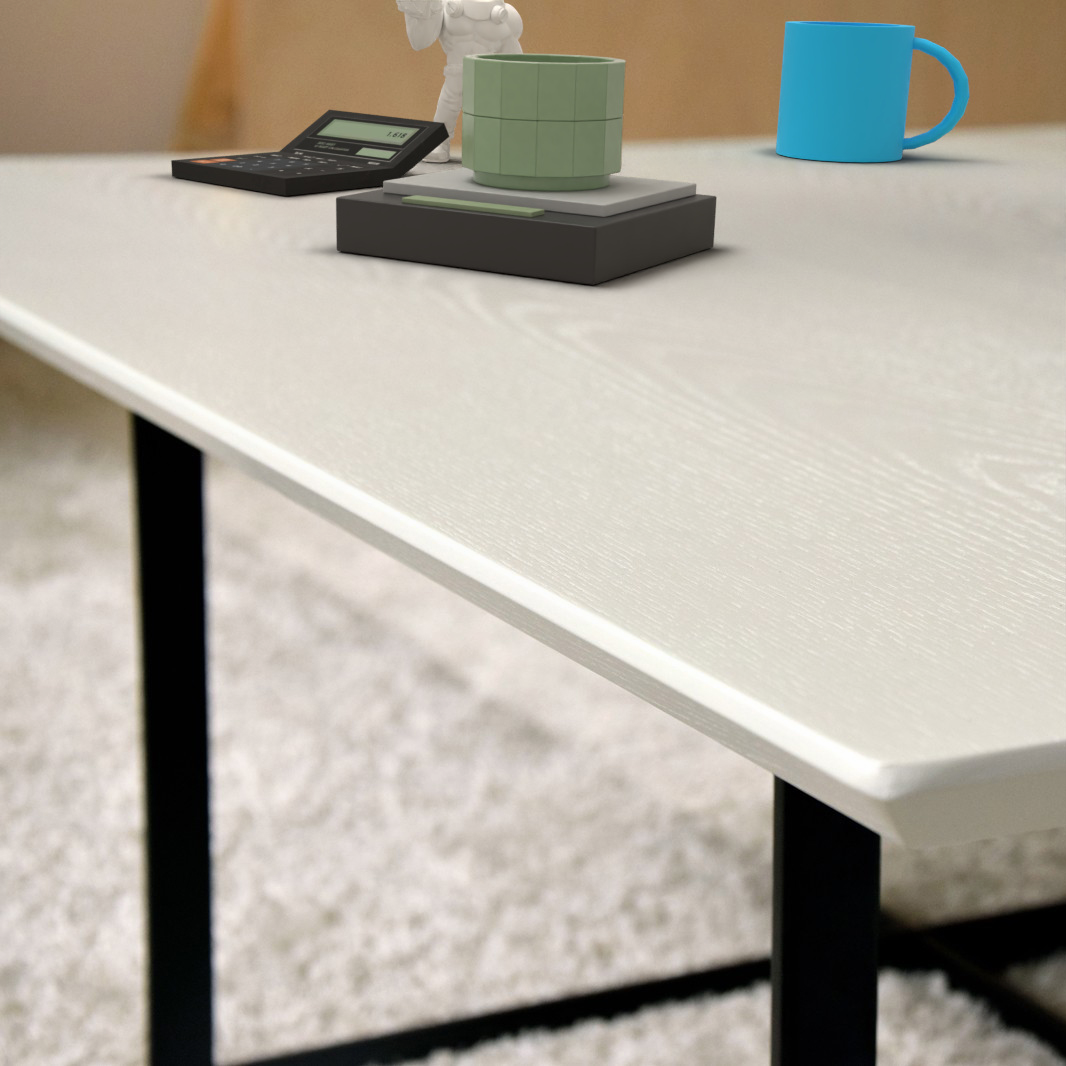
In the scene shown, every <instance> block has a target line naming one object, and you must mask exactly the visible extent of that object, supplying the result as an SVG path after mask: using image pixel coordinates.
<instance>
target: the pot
mask: <svg viewBox="0 0 1066 1066" xmlns="http://www.w3.org/2000/svg"><path fill="white" fill-rule="evenodd" d="M626 69H627V60H626V59H623V58H615V57H607V56H597V55H596V56H595V55H582V54H581V55H580V54H559V53H525V52H523V53H499V54H473V55H467V56H464V57H463V86H462V109H461V111H462V114H461V166H462V167H461V168H467V169H470V170H473V181H474V182H476V183H478V184H481V185H485V186H490V187H496V188H503V189H513V190H527V191H582V190H592V189H599V188H603V187H606V186H608V185H610V176H611V175H615V174H618V173H621V171H622V165H623V164H622V163H623V142H624V141H623V139H624V120H625V119H624V114H625V95H626V94H625V93H626V72H627V71H626Z"/></svg>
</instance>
